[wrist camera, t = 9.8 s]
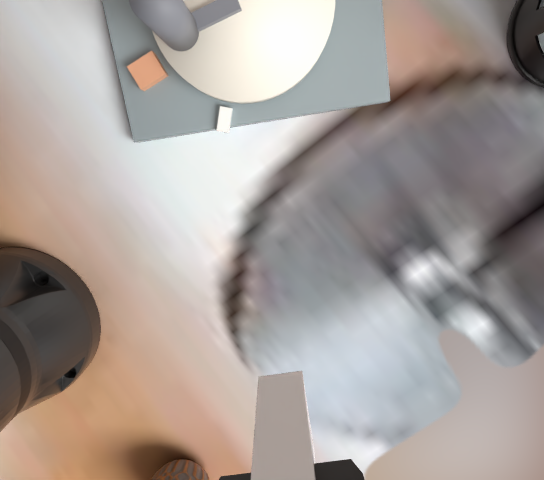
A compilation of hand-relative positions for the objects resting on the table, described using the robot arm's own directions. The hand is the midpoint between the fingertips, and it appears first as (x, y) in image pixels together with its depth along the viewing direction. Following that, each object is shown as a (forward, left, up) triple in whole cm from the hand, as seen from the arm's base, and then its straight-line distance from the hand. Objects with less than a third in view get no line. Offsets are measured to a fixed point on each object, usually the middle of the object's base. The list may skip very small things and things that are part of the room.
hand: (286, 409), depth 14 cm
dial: (0, +19, -23) cm, 30 cm away
